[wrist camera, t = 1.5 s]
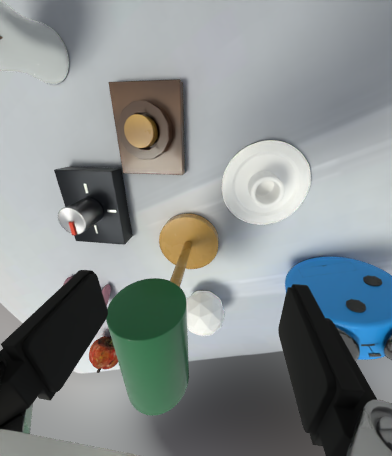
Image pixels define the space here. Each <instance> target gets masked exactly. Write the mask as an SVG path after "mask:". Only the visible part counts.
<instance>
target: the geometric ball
mask: <svg viewBox="0 0 392 456" xmlns="http://www.w3.org/2000/svg"><path fill="white" fill-rule="evenodd" d="M186 304H187V327H188V329H189V331H190V332H192V333H194V334H197V335H200V336H208V335H212V334H214V333H215V332H216V331H217V330H218V329H220V328H221V327H222V323H223V320H224V316H225V311H224V308H223V305H222V302H221V299H220V298H218V297H217V296H216V295H215V294H213V293H212V292H210V291H196V292H194V293H193V294H192V295H191V296H189V297H188V298H187V299H186Z"/></svg>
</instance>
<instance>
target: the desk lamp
mask: <svg viewBox="0 0 392 456" xmlns="http://www.w3.org/2000/svg"><path fill="white" fill-rule="evenodd" d="M159 244H160V248H161V250H162V253H163V254H164V256H165V257H166V258H167V259H168V260H169V261H170V262H172V263H173V264H175V265H176V266H175V269H174V271H173V274H172V277H171V279H170V281H168V280H165V279H156V278H154V279H145V280H141V281H137V282H135V283H132V284H130V285H128V286H127V287H125V288H124V289H122V290H121V291H120V292H119V293H118V294H117V295H116V296H115V297H114V298H113V299H112V301H111V302H110V304H109V307H108V309H107V310H108V316H107V318H106V320H107V324H108V328H109V331H110V335H111V338H112V342H113V345H114V348H115V352H116V355H117V359H118V362H119V366H120V369H121V372H122V376H123V379H124V383H125V386H126V390H127V393H128V396H129V399H130V402H131V403H132V405H133V406H134V407H135V408H136V409H137V410H138V411H139V412H141V413H143V414H146V415H159V414H163V413H165V412H167V411H169V410H170V409H172V408H173V407H174V406H175V405H176V404H177V403H178V402H179V401H180V400H181V398H182V396H183V395H184V393H185V390H186V388H187V384H188V379H189V370H188V336H187V304H186V297H185V294H184V292H183V291H182V289H181V288H180V284H181V281H182V278H183V275H184V271H185V268H187V269H197V268H201V267H204V266H206V265H207V264H209V263H210V262H211V261H212V260H213V259H214V258H215V256H216V254H217V251H218V234H217V232H216V230H215V228H214V226H213V225H212V224H211V223H210V222H209V221H208V220H206V219H205V218H203V217H201V216H199V215H195V214H180V215H177V216H175V217H173V218H171V219H170V220H169V221H168V222H167V223H166V224H165V226H164V227H163V229H162V231H161V233H160V237H159Z"/></svg>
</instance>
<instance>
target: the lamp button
mask: <svg viewBox="0 0 392 456" xmlns="http://www.w3.org/2000/svg"><path fill="white" fill-rule="evenodd" d="M124 132H125V136H126V138H127V140H128V141H129V143H130V144H131V145H133V146H134V147H137V148H145V147H150V146H152V145H153V144H154V143H155V142H156V140H157V137H158V129H157V126H156V124H155V122H154V121H153V120H152V119H151V118H150V117H148V116H145V115H140V114H134V115H131V116H130V117H129V118H128V119H127V120H126V122H125V125H124Z"/></svg>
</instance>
